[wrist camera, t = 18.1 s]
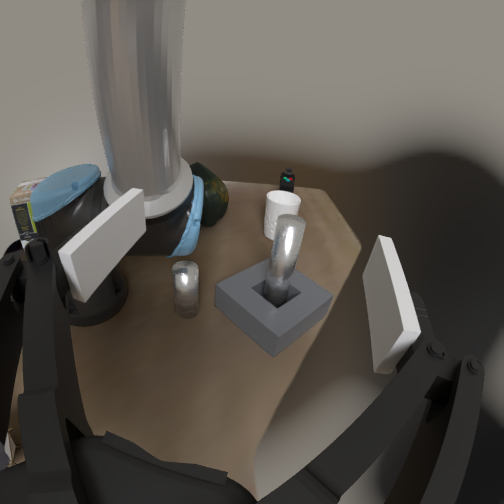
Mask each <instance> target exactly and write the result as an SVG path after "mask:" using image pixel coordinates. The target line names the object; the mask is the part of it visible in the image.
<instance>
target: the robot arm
mask: <svg viewBox="0 0 504 504" xmlns="http://www.w3.org/2000/svg"><path fill="white" fill-rule="evenodd" d="M185 4H186V0H81V7H82V20H83V31H84V39H85V40H84V41H85V48H86V57H87V64H88V70H89V77H90V83H91V89H92V94H93V100H94V105H95V110H96V115H97V120H98V125H99V129H100V134H101V138H102V142H103V146H104V150H105V154H106V158H107V162H108V166H109V170H110V171H109V173H108V174H107V176H106V177H101V171H100V170H99V167H98V166H97V165H92V164H83V165H77V166H73V167H70V168H67V169H64V170H61V171H59V172H57V173H54V174H53V175H51V176H49V177H47V178H45V179H44V180H43V181H41V182H40V183H39V184H38V185H37V186H36V187H35V188H34V190H33V191H32V193H31V197H30V202H31V209H32V215H33V217H32V219H33V221H34V223H35V227H36V231H37V234H38V238H36V239H33V240H31V241H30V242H28V243H27V244H26V245H25V248H24V250H25V253H26V256H27V259H28V261H21V259H20V256H19V254H18V253H15V252H13V253H8V254H6V255H5V256H4V257H2V258H1V260H0V504H337V503H338V502H339V500H340V497H341V496H342V494H344V492H346V491H347V490H348V489H349V488H350V487H351V486H352V485H353V484H354V483H355V482H356V481H357V480H358V478H359V477H360V476H361V475H362V474H363V473H364V472H365V471H366V470H367V469H368V468H369V467H370V466H371V465H372V463H373V462H374V461H375V460H376V459H377V458H378V457H379V455H380V454H381V453H382V452H383V450H385V448H386V447H387V446H388V445H389V444H390V442H391V441H392V440H393V439H394V437H395V436H396V434H398V432H399V431H400V430H401V428H402V427H403V426H404V424H405V423H406V422H407V420H408V419H409V418H410V416H411V415H412V413H413V412H414V411H415V409H416V408H417V406H418V405H419V403H420V402H421V400H422V399H423V397H424V398H426V399H428V402H427V405H426V408H425V411H424V414H423V417H422V420H421V423H420V425H419V428H418V431H417V434H416V436H415V439H414V441H413V444H412V446H411V449H410V451H409V453H408V456H407V458H406V460H405V463H404V465H403V467H402V469H401V471H400V473H399V476H398V478H397V480H396V482H395V484H394V486H393V488H392V490H391V492H390V494H389V496H388V497H387V499H386V501H385V503H384V504H455V501H456V498H457V496H458V493H459V490H460V487H461V484H462V481H463V478H464V475H465V472H466V468H467V465H468V461H469V457H470V454H471V450H472V445H473V441H474V436H475V432H476V427H477V422H478V416H479V411H480V405H481V398H482V390H483V382H484V367H483V365H482V363H481V362H480V360H479V359H478V358H476V357H475V356H473V355H466V356H465V357H463V358H462V360H461V361H459V360H457V359H455V358H452V357H450V356H448V355H447V350H446V349H445V347H444V345H443V344H442V343H441V342H439V341H438V340H436V339H435V338H434V334H433V331H432V327H431V324H430V320H429V317H428V314H427V311H426V308H425V304H424V301H423V300H422V299H421V297H420V296H419V295H418V293H416V292H411V291H409V288H408V285H407V283H406V279H405V276H404V273H403V270H402V267H401V264H400V261H399V258H398V256H397V253H396V250H395V247H394V244H393V242H392V239H391V238H388V237H384V236H380V235H379V236H378V238H377V240H376V243H375V245H374V248H373V251H372V253H371V256H370V258H369V261H368V263H367V266H366V268H365V271H364V273H363V282H364V288H365V295H366V302H367V308H368V317H369V325H370V333H371V343H372V353H373V364H374V372H376V373H385V374H390V373H391V372H392V370H393V369H394V368H395V367H396V368H397V375H396V376H395V377H394V378H393V380H392V381H391V382H390V383H389V384H388V385H387V387H386V388H385V389H384V390H383V391H382V393H381V394H380V395H379V396H378V397H377V398H376V399H375V400H374V401H373V403H372V404H371V405H370V406H369V407H368V408H367V409H366V410H365V411H364V412H363V413H362V414H361V415H360V416H359V418H357V419H356V420H355V421H354V423H352V424H351V425H350V426H349V427H348V428H347V429H346V430H345V431H344V432H343V433H342V434H341V435H340V436H339V437H338V438H337V439H336V440H335V441H334V442H333V443H332V444H330V445H329V446H328V447H327V448H326V449H325V450H324V451H323V452H322V453H320V454H319V455H318V456H317V457H316V458H315V459H313V460H312V461H311V462H310V463H309V464H307V465H306V466H305V467H304V468H303V469H301V470H300V471H299V472H298V473H296V474H295V475H294V476H293V477H291V478H290V479H289V480H287V481H286V482H285V483H283V484H282V485H281V486H279V487H278V488H277V489H275V490H274V491H272V492H271V493H270V494H268V495H267V496H265V497H264V498H262V499H261V500H260V501H258V502H257V501H256V499H255V498H254V497H253V495H252V494H251V493H250V492H249V491H248V490H247V489H246V488H244V487H243V486H242V485H241V484H239V483H237V482H236V481H234V480H232V479H230V478H228V477H227V473H228V472H225V471H221V470H216V469H212V468H209V467H205V466H201V465H197V464H187V463H175V462H164V461H160V460H158V459H157V458H155V457H154V456H152V455H151V454H149V453H148V452H146V451H145V450H143V449H142V448H140V447H139V446H138V445H136V444H135V443H133V442H131V441H128V440H126V439H124V438H121V437H119V436H117V435H115V434H112V433H110V432H108V431H106V433H105V436H97V435H95V436H94V435H93V432H92V430H91V428H90V426H89V424H88V422H87V419H86V416H85V412H84V408H83V403H82V399H81V394H80V389H79V384H78V379H77V373H76V367H75V361H74V354H73V347H72V339H71V331H70V324H71V325H75V326H90V325H95V324H98V323H101V322H104V321H106V320H108V319H109V318H111V317H112V316H114V315H115V314H116V313H117V312H118V311H119V310H120V309H121V308H122V306H123V305H124V303H125V301H126V298H127V293H128V290H127V284H126V280H125V277H124V274H123V273H122V271H121V269H120V268H119V266H118V264H117V263H118V262H119V261H120V260H121V259H122V257H123V256H166V257H168V258H171V257H173V256H186V255H189V254H191V253H192V252H193V251H194V250H195V248H196V245H197V242H198V237H199V232H200V221H201V216H202V209H203V194H204V186H203V180H202V179H201V178H200V177H198V176H195V175H193V174H192V171H191V168H190V167H189V165H188V163H187V162H186V161H185V160H183V158H181V157H180V99H181V97H180V96H181V65H182V45H183V29H184V15H185ZM11 296H12V298H11ZM22 345H23V382H24V393H23V394H19V396H18V401H17V404H18V415H19V424H20V431H21V438H22V444H23V450H24V456H25V461H24V462H21V463H19V464H16V465H14V466H11V467H8V468H6V469H5V467H7V466H8V465H9V463H10V458H9V456H8V455H7V454H6V453H5V449H4V446H5V442H6V437H7V433H8V426H9V418H10V410H11V402H12V395H13V389H14V383H15V378H16V372H17V367H18V363H19V358H20V354H21V349H22ZM226 477H227V478H226Z"/></svg>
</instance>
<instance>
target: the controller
mask: <svg viewBox="0 0 504 504" xmlns="http://www.w3.org/2000/svg"><path fill="white" fill-rule="evenodd" d="M286 170H287V171H286V172H283V173H282V174H281V180H280V191H287V192H290V193H293V191H294V180H295V176H294V174H292V173H291V171H292V170H293V169H291V168H286Z"/></svg>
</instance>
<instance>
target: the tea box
mask: <svg viewBox="0 0 504 504" xmlns="http://www.w3.org/2000/svg"><path fill="white" fill-rule="evenodd" d="M45 178H47V177H44V178H39V179H35V180H30V181H24V182H22V183H21V184H20V185H19V187H18V188H17V189H16V190H15V191H14V193H13V194H12V195H11V197H10V198H9V199H10V204H11V208H12V212H13V215H14V219H15V223H16V226H17V230H18V233H19V236H20V240H21V243H22V245H23V248H25V245H26V244H27V243H28V242H30V241H31V240H33V239H36V238H38V234H37V231H36V227H35V223H34V221H33V219H32V217H33V215H32V209H31V202H30V197H31V193H32V191H33V190H34V188H35V187H36V186H37V185H38V184H39V183H40V182H41V181H43V180H44V179H45ZM24 251H25V250H24Z"/></svg>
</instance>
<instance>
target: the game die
mask: <svg viewBox="0 0 504 504" xmlns="http://www.w3.org/2000/svg"><path fill="white" fill-rule="evenodd" d="M9 431H10V432H11V431H12V428H11V427H9V428H8V433H7V437H6V442H5V446H4V449H5V453H6V454H7V455H8V456H9V458H10V463H9V465H11V464H13V465H16V463H14V455H15V449H16V448H20V447H21V446H19V445H15V443H14V441H13V439H12V437H11V435H10V433H9ZM9 465H8V466H9Z"/></svg>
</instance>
